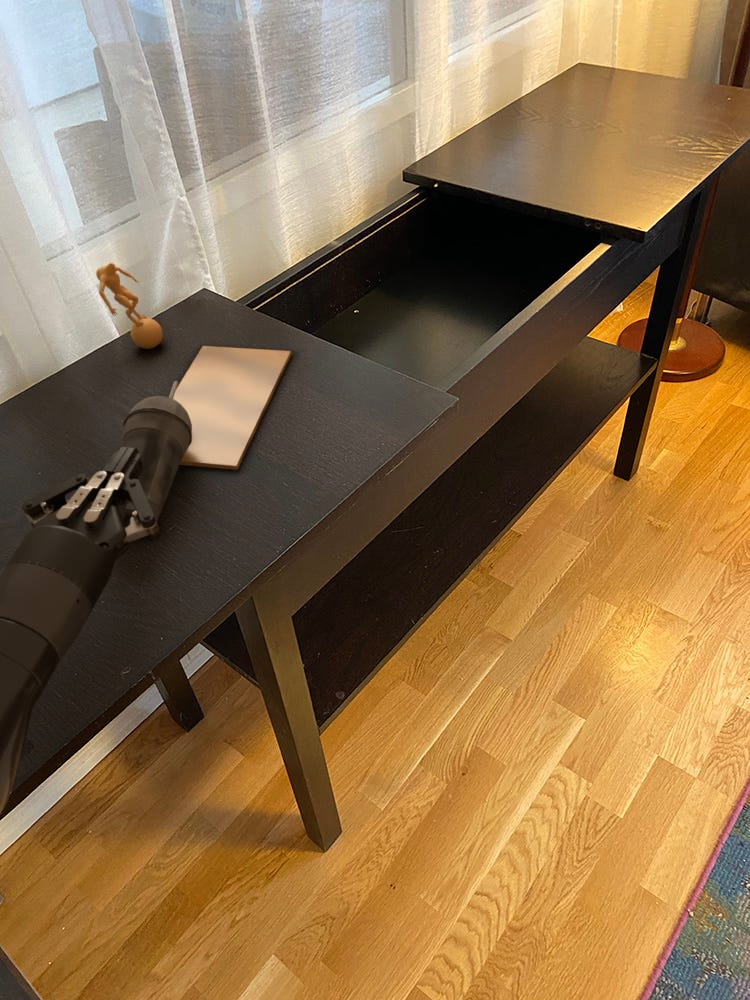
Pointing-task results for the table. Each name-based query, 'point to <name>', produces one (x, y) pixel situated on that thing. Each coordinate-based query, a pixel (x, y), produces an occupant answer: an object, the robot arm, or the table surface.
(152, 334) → the figurine
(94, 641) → the table surface
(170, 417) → the beverage cup
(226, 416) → the tan rectangular board
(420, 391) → the table surface
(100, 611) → the table surface
